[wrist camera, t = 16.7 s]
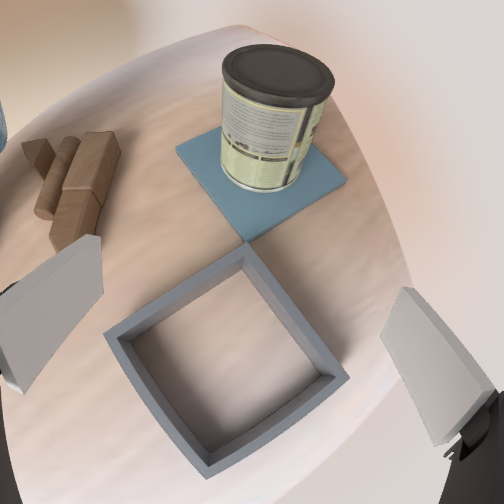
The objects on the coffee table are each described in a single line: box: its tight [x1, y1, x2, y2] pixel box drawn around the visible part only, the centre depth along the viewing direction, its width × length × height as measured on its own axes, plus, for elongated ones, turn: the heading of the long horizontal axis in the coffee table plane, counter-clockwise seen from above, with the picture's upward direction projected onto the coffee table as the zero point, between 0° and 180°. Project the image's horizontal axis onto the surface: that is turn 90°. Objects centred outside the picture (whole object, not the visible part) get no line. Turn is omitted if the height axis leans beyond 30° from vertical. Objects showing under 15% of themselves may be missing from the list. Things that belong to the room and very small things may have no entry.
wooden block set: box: [22, 131, 121, 253], centre depth 28 cm, size 17×6×18 cm
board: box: [175, 126, 347, 243], centre depth 35 cm, size 16×16×1 cm
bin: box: [103, 242, 350, 480], centre depth 24 cm, size 16×16×4 cm
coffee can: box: [220, 44, 335, 193], centre depth 28 cm, size 10×10×14 cm
